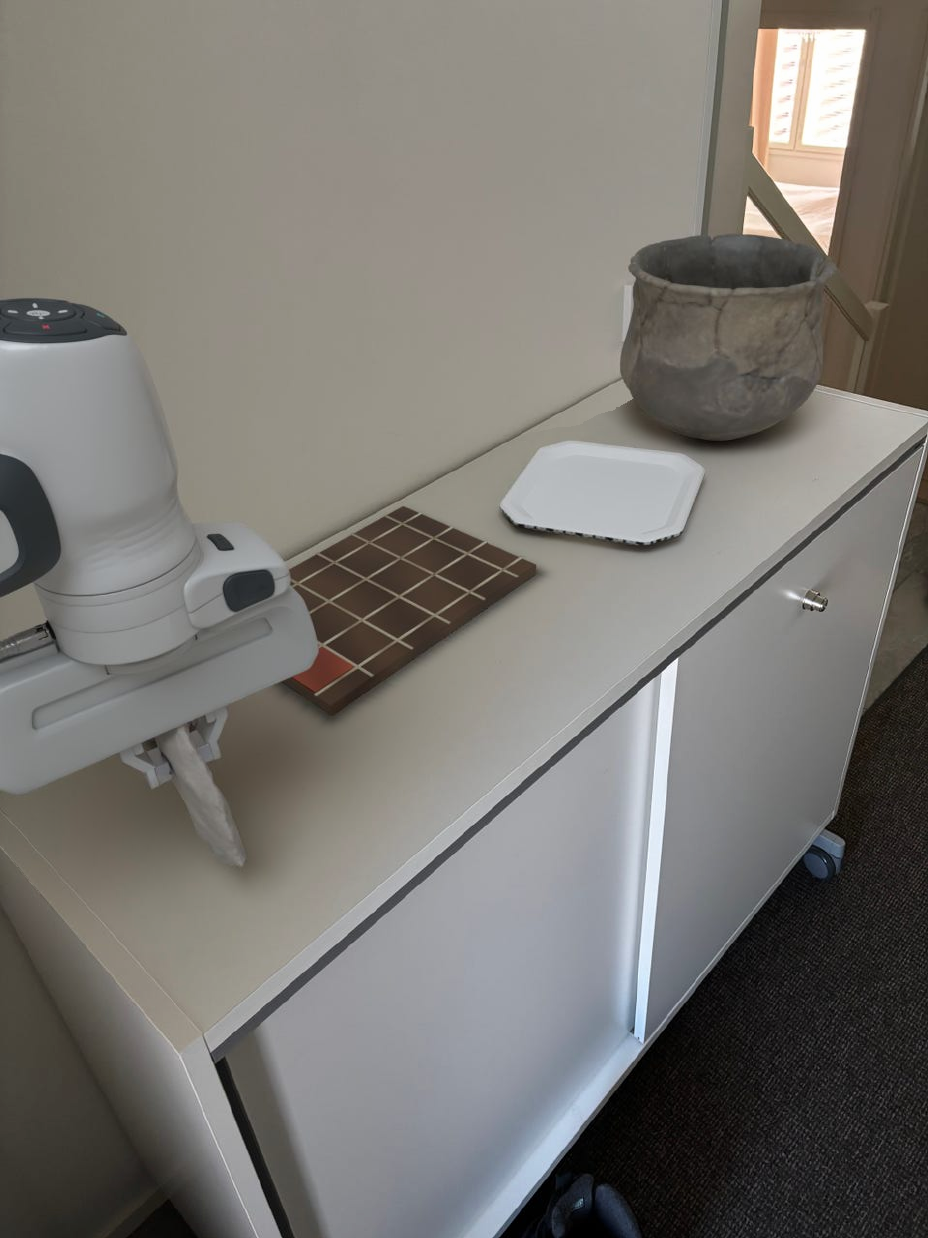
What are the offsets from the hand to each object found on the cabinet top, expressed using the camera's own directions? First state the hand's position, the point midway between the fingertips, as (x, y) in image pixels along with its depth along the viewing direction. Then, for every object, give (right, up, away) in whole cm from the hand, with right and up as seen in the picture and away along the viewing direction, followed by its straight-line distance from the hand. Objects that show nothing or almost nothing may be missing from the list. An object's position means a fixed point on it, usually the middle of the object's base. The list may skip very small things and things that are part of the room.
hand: (183, 767), depth 60 cm
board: (+9, +12, +34) cm, 37 cm away
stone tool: (+2, -7, +6) cm, 10 cm away
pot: (+51, +35, +61) cm, 87 cm away
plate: (+35, +23, +47) cm, 63 cm away
